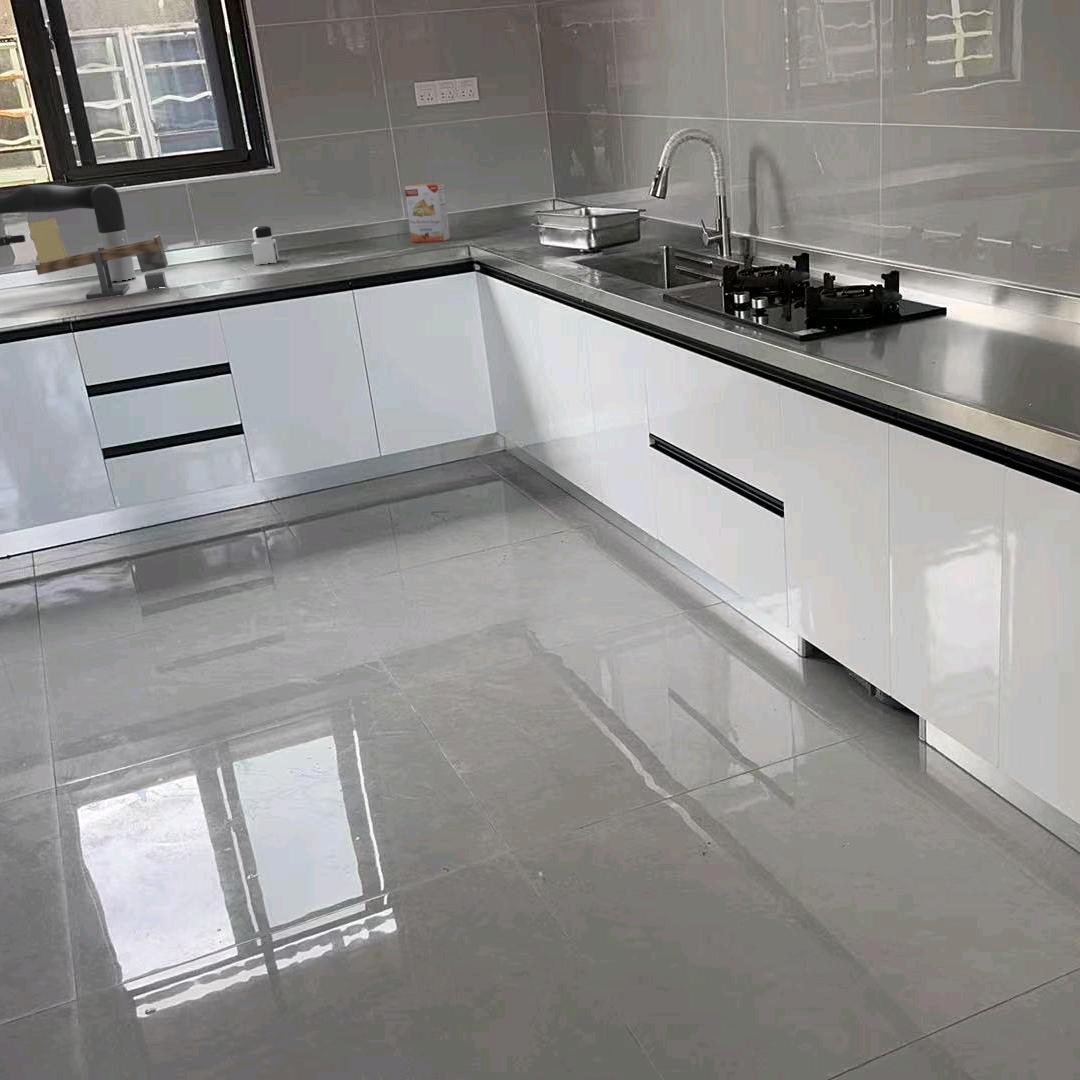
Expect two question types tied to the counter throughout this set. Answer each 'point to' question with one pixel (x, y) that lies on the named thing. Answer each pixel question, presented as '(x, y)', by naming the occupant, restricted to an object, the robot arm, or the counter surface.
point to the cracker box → (427, 212)
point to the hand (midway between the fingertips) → (24, 238)
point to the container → (264, 246)
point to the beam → (115, 257)
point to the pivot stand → (113, 290)
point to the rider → (47, 240)
